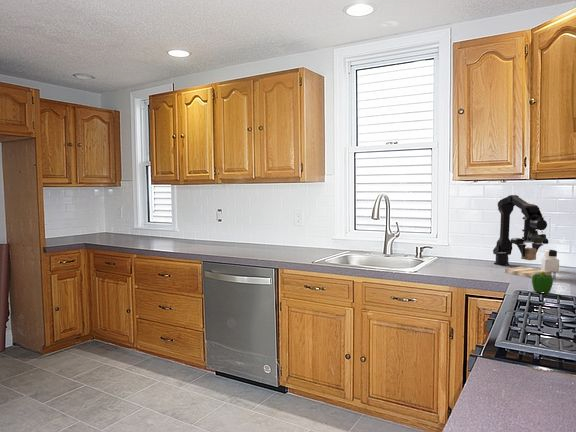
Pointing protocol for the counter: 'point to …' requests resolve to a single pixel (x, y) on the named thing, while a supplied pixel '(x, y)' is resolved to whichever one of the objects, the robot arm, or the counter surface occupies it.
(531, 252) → the walnut block
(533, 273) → the birch base
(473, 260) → the counter surface
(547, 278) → the bell pepper
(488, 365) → the counter surface
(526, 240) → the robot arm
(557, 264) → the medicine bottle
